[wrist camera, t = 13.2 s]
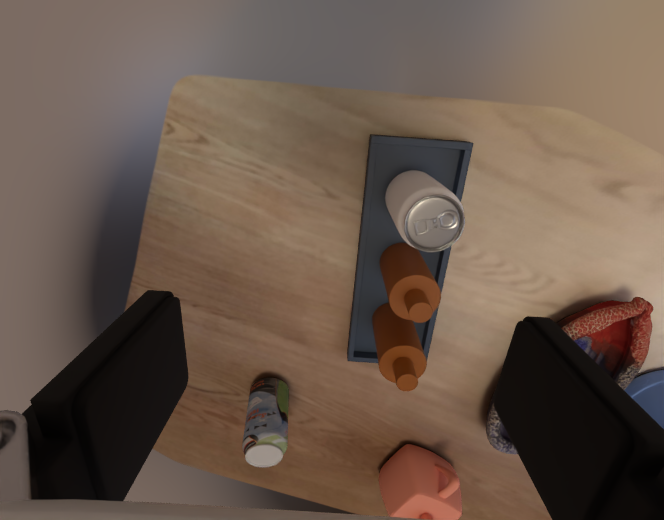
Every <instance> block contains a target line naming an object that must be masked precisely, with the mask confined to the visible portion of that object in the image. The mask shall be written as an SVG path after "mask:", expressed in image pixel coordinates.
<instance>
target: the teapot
mask: <svg viewBox="0 0 664 520" xmlns="http://www.w3.org/2000/svg"><path fill="white" fill-rule="evenodd" d="M379 484H380V490H381V494H382V498H383V501H384V504H385V507H386V509H387V512H388V515H389V517H400V518H415V519H430V520H457V519H458V518H460V516H461V515H462V500H461V490H460V481H459V478H458V476H457V474H456V472H455V470H454V468H453V467H452V466H451V465H450V464H449V463H448V462H447V461H446V460H444V459H443V458H441V457H440V456H438V455H437V454H435V453H433V452H431V451H429V450H426V449H424V448H421V447H418V446H415V445H411V444H407V445H405V446H403V447H402V448H401V449H399V450H398V451H397V452H396V453H395V454H394V455H393V456H392V457H391V458H390V459H389V460H388V461H387V462H386V463H385V464H384V465H383V467H382V468H381V470H380V474H379Z"/></svg>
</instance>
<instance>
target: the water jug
mask: <svg viewBox="0 0 664 520" xmlns="http://www.w3.org/2000/svg"><path fill="white" fill-rule="evenodd" d="M624 391H625V392H626V393H627V394H628V395H629V396H630V397H631V398H632V399H634V400H635V401H636V402H637V403H638V404H639V405H640V406H641V407H642V408H643V409H644V410H645V411H646V412H647V413H648V414H649V415H650V416H651V417H652V418H653V419H654V420H655V421H656V422H657V423H658V424H659V425H660V426H661V427H662V428H663V429H664V370H659V371H654V372H650V373H647V374H644V375H641V376H639V377H637V378H635V379H633V380H632V381H631V383H630V384H629V385H628V386H627V387H626V389H625V390H624Z"/></svg>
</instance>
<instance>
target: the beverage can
mask: <svg viewBox="0 0 664 520" xmlns="http://www.w3.org/2000/svg"><path fill="white" fill-rule="evenodd" d="M288 399H289V389H288V386H287V385H286V384H285V383H284V382H283V381H281V380H279V379H276V378H263V379H260V380H258V381H256V382H255V383H254V384H253V385H252V386H251V389H250V396H249V403H248V410H247V417H246V424H245V431H244V438H243V445H242V448H243V452H244V454H245V458H246V461H247V462H248V463H249V464H251V465H253V466H256V467H271V466H274V465H276V464H278V463H279V462H280V461H281V460H282V457H283V455H284V453H285V451H286V449H287V439H288Z"/></svg>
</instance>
